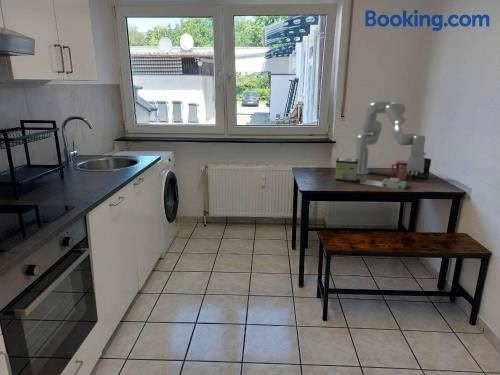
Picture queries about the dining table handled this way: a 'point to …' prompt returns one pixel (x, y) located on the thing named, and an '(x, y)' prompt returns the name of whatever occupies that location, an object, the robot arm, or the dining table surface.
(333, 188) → the dining table surface
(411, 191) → the dining table surface
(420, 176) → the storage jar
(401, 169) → the mug
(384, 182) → the cart
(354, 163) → the protein box
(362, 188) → the dining table surface
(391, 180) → the beige square block
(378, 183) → the track
